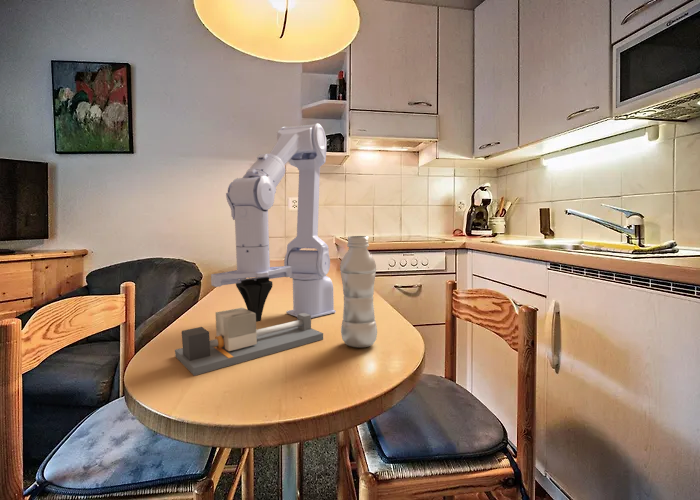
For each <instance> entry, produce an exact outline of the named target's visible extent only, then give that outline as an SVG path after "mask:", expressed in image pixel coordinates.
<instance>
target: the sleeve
mask: <svg viewBox="0 0 700 500" xmlns="http://www.w3.org/2000/svg"><path fill="white" fill-rule="evenodd" d="M215 330H216V337H217V336H222V337H224V345H225V349H226V350H228V351H232V350H236V349H240V348H244V347H248V346H252V345H255V344H257V335H256V330H257V322H256V313H254V312H251V311H249V310H248V309H247V308H245V307H237V308H233V309H227V310H222V311H217V312H216V311H215Z"/></svg>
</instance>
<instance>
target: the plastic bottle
mask: <svg viewBox="0 0 700 500" xmlns="http://www.w3.org/2000/svg"><path fill="white" fill-rule="evenodd" d="M346 246H347V247H348V250H347V252H346V253H345V255H343V258H342V259H341V261H340V264H339V269H340V276H341V277H340V278H341V282H342V283H341V284H342V292H343V309H342V310H343V311H342V312H343V314H342V322H341V327H340V334H341V339H342V341H343V343H344V344H345V345H346V346H349V347H350V348H351V347H353V348H366V347H367V348H368V347H371V346H373V345H374V343H375V342H376V340H377V337H378V336H377V335H378V327H377V326H378V325H377V321H376V319H375V318H376V315H375V308H374V307H375V305H374V292H375V291H374V290H375V289H374V288H375V281H376V274H377V273H376V271H377V263H376V262H375V259H374V257H373V255H372V254H371V253H370V251H369V250H368V247H370V244H369V236H368V235H349V236H347V244H346Z"/></svg>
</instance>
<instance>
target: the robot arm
mask: <svg viewBox="0 0 700 500" xmlns="http://www.w3.org/2000/svg"><path fill="white" fill-rule="evenodd" d="M327 142H328V141H327V137H326V133H325V129H324V128H323V126H322V125H321V124H320V123H318V122H317V123H314V124H306V125H305V124H304V125H296V126H294V125H293V126H281V127H279V129H278V131H277V132H276V143H274V146H273V147H272V150H271V151H270V152H269V153H260V154H258V155H257V157H256V160H255V162H254V163H253V164H252V165H251V167H250V168H248V169H247V170H246V172H245V174H244V175H243V176H242V177H239V178H238V177H237V178H235V179H234V180H233V181H231V182H230V183H229V184H228V187H227V192H226V193H225V197H226V202H227V203H228V206H229V208H230V213H231V215H230V217H231V218H232V220H233V221H234V229H235V231H234V232H235V234H234V235H235V253H236V270H230V271H225V272H218V273H211V274H210V282H211V286H213V287H215V288H218V287H222V286H226V285H234V284H235V287H236V289H237V290H238V291H239V294H240V295H241V297H242V299H243V301H244V303H245V307H246V309H247V310H249V311H251V312H254V313H256V323H257V322H261V321H262V316H263V312H264V308H265V304H266V301H267V299H268V296H269V294H270V292H271V290H272V288H273V281H272V279H273V280H274V279H278V278H280V279H281V278H289V279H292V302H293V303H292V306H293V307H292V309H289V310H286V311H285V312H286V314H288V315H291V316H294V317H296V318H298V314H301V313H306V314H309V315H311V319H313V318H317V317H321V316H325V315H329V314H334V313H336V312H337V311H336V310H335V309H334V308H335V307H334V306H335V305H334V304H335V303H334V284H333V281H332V279H331V278H330V276H328V273H329V271H330V267H331V258H330V250H329V245H328V244H327V242H325V241H324V240H323V239H321V238H320V237H319V236H318V234H319V211H320V210H319V208H320V206H319V205H320V181H321V180H320V179H321V177H320V176H321V175H320V174H321V167H322V166H323V165H324V164H325V163H326V162H327V160H326V159H327V145H328V144H327ZM287 163H289V165H290V166H292V167H294V168H297V170H298V193H297V218H296V221H297V223H296V236H295V237H294V238H293V239H292V240H291V241H289V242H288V244H286V245H287V246H286V253H285V255H284V260H283V261H284V263H283V265H282V266H281V265H280V266H271V262H270V260H271V259H270V238H269V237H270V235H269V234H270V233H269V231H270V230H269V228H270V227H269V210H270V209H271V207H273V206H274V203H275V196H276V193H277V187H278V186H279V183H280V182H281V181H282V179H283V178H284V176H285V174H286V167H285V166H286V165H287ZM304 249H305V250H304ZM308 249H309V250H308ZM311 249H312V250H311ZM313 249H314V250H313Z"/></svg>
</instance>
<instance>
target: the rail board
mask: <svg viewBox="0 0 700 500" xmlns="http://www.w3.org/2000/svg"><path fill="white" fill-rule="evenodd" d="M256 335H257V344H255V345H252V346H248V347H244V348H240V349H236V350H232V351H228V350H226V349H225V345H224V337H222V336H217V335H216V336H215V337H214V339H211V340H210V331H209V330H208V329H206V328H204V327H202V326H199V327H194V328H190V329H183V330H181V342H182V344H181V345H182V347H180V348H177V349H174V357H175V358H176V359H177V360H178V361H179V362H180V363H181V364H182V365H183V366H184V367H185V368H186V369H187V370H188V371H189V372H190V373H191V374H192V375H193V377H195V376H198V375H202V374H206V373H210V372H212V371H216V370H221V369H222V368H223V369H224V368H226V367H230V366H234V365H237V364H242V363H245V362H248V361H252V360H255V359H259V358H262V357H265V356H270V355H271V354H272V355H273V354H276V353H280V352H283V351H287V350H290V349H294V348H297V347H301V346H304V345H308V344H312V343H315V342H319V341H323V340H324V333H323V332H321V331H319V330H316V329H313V328H312V318H311V315H309V314H306V313H301V314H298V317H297V320H293V321H289V322H285V323H281V324H276V325H272V326H271V325H270V326H267V327H262V328H258V329H256Z"/></svg>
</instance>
